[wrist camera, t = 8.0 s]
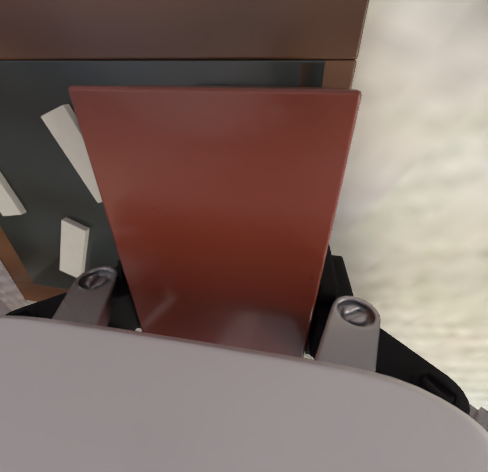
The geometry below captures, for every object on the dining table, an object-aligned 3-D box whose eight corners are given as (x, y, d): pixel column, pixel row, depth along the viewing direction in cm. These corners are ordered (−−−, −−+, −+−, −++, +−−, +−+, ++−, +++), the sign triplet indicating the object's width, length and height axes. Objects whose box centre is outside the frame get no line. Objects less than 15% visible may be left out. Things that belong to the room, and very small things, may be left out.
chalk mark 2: (46, 115, 12) (39, 116, 12) (69, 103, 11) (62, 104, 11) (102, 200, 14) (97, 203, 14) (123, 193, 13) (119, 196, 13)
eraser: (170, 84, 9) (64, 85, 5) (327, 86, 8) (363, 90, 4) (199, 325, 16) (166, 412, 12) (288, 338, 15) (286, 436, 11)
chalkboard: (-125, 10, 12) (-164, 4, 11) (365, -9, 9) (373, -20, 8) (37, 289, 21) (25, 299, 20) (299, 328, 18) (299, 343, 17)
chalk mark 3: (66, 216, 15) (60, 219, 15) (90, 228, 15) (85, 231, 15) (63, 266, 17) (59, 270, 17) (84, 275, 17) (80, 279, 17)
